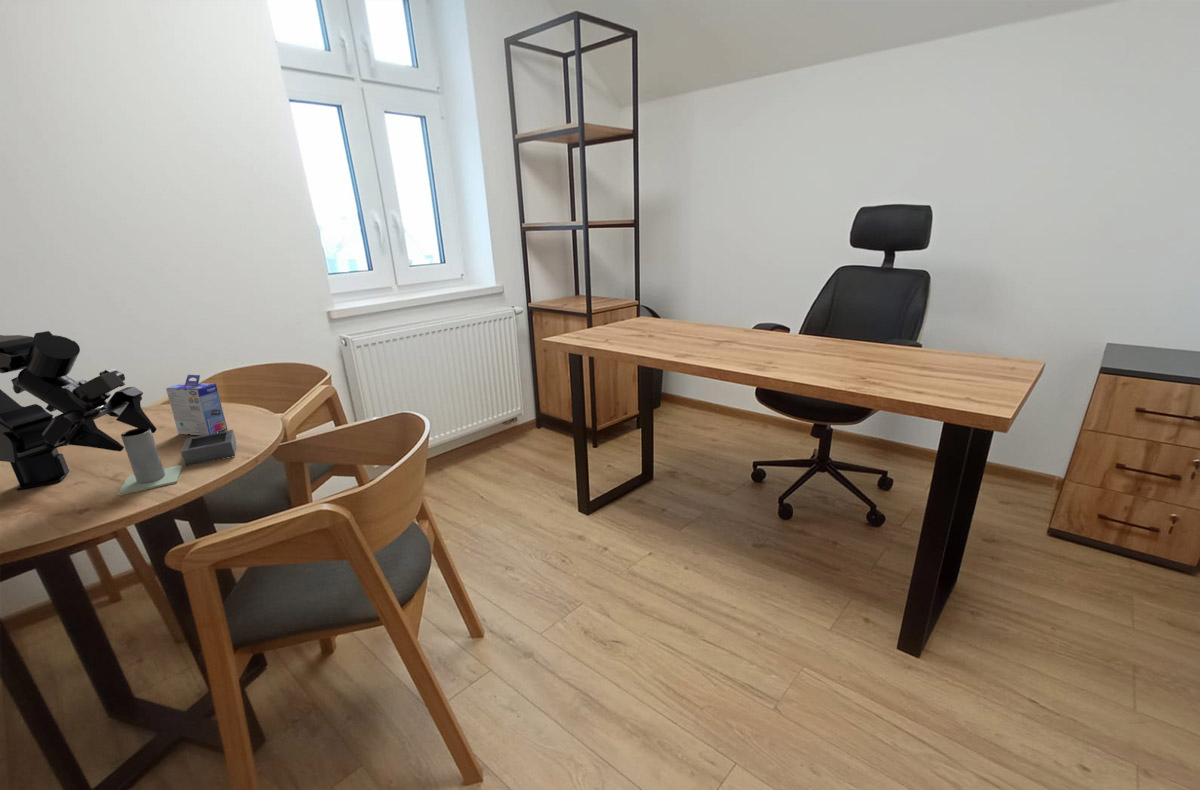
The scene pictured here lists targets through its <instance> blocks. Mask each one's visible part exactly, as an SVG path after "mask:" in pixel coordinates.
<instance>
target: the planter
mask: <svg viewBox="0 0 1200 790" xmlns="http://www.w3.org/2000/svg"><path fill="white" fill-rule="evenodd" d="M120 437H121V440H122V443H123V445H124V446H123V447H124V449H125V451H126V455H127V458H128V459H129V463H130V467H131V469H132V472H133V475H135V478H136V481H137V482H138V483H149V482H153V481H156V480H159V479H161V478H163V477H164V476H165V472H164V469H165V468H164V466H163V463H162V461H161V458H160V454H159V450H158V449H157V448H158V447H157V444H156V442H155V439H154V435H153V433H152V432H151V429H150V428H134V429H129V430H127V431H124V432H122V433H121V434H120Z"/></svg>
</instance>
